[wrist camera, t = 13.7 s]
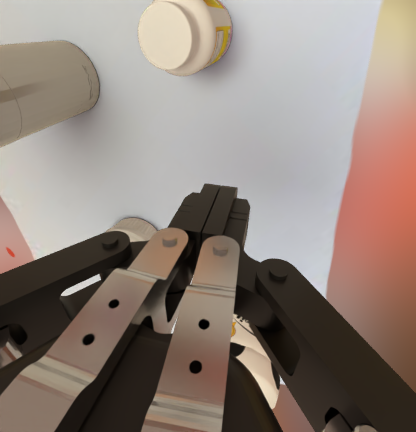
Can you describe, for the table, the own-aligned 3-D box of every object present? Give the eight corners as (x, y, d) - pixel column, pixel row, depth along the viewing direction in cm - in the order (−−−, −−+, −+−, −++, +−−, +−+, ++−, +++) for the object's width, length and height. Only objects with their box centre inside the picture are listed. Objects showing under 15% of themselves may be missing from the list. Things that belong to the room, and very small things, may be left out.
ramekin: (119, 251, 59) (106, 268, 55) (109, 208, 52) (93, 224, 48) (168, 261, 57) (158, 280, 52) (164, 217, 50) (152, 235, 46)
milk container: (292, 276, 50) (291, 376, 36) (282, 331, 60) (279, 427, 46) (201, 262, 54) (168, 348, 40) (206, 316, 64) (181, 400, 50)
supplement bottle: (169, 11, 32) (110, 7, 22) (222, -17, 29) (183, -37, 19) (191, 72, 35) (148, 93, 25) (240, 52, 32) (215, 66, 22)
